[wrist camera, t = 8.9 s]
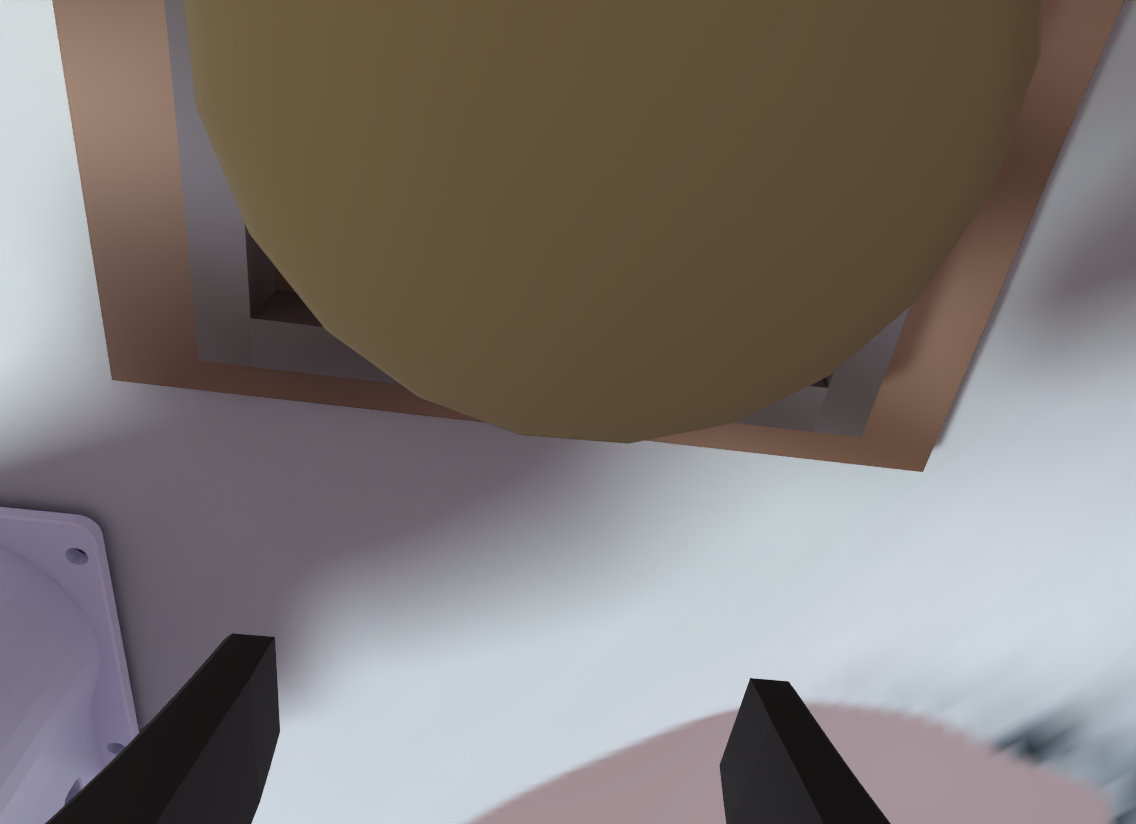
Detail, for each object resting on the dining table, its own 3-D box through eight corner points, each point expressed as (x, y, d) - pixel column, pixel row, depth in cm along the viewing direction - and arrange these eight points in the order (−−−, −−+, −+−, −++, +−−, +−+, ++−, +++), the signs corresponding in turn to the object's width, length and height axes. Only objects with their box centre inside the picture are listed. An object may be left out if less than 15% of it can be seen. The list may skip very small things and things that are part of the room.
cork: (331, -109, 12) (-418, -392, 3) (694, -287, 12) (1402, -1627, 2) (486, 238, 15) (367, 684, 6) (790, 118, 14) (1276, 413, 5)
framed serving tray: (912, 458, 19) (951, 510, 17) (125, 367, 17) (74, 414, 15) (1312, -508, 11) (1466, -606, 9) (-49, -815, 10) (-193, -1004, 8)
